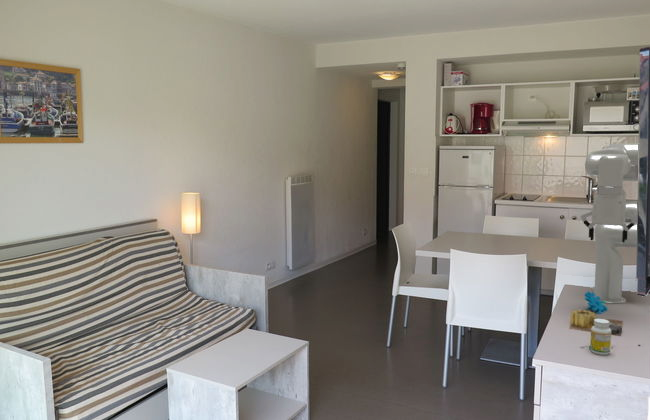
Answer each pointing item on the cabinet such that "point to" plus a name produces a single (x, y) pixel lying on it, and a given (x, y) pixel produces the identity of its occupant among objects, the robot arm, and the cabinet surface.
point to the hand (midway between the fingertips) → (607, 240)
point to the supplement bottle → (600, 337)
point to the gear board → (613, 325)
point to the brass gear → (582, 318)
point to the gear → (595, 303)
